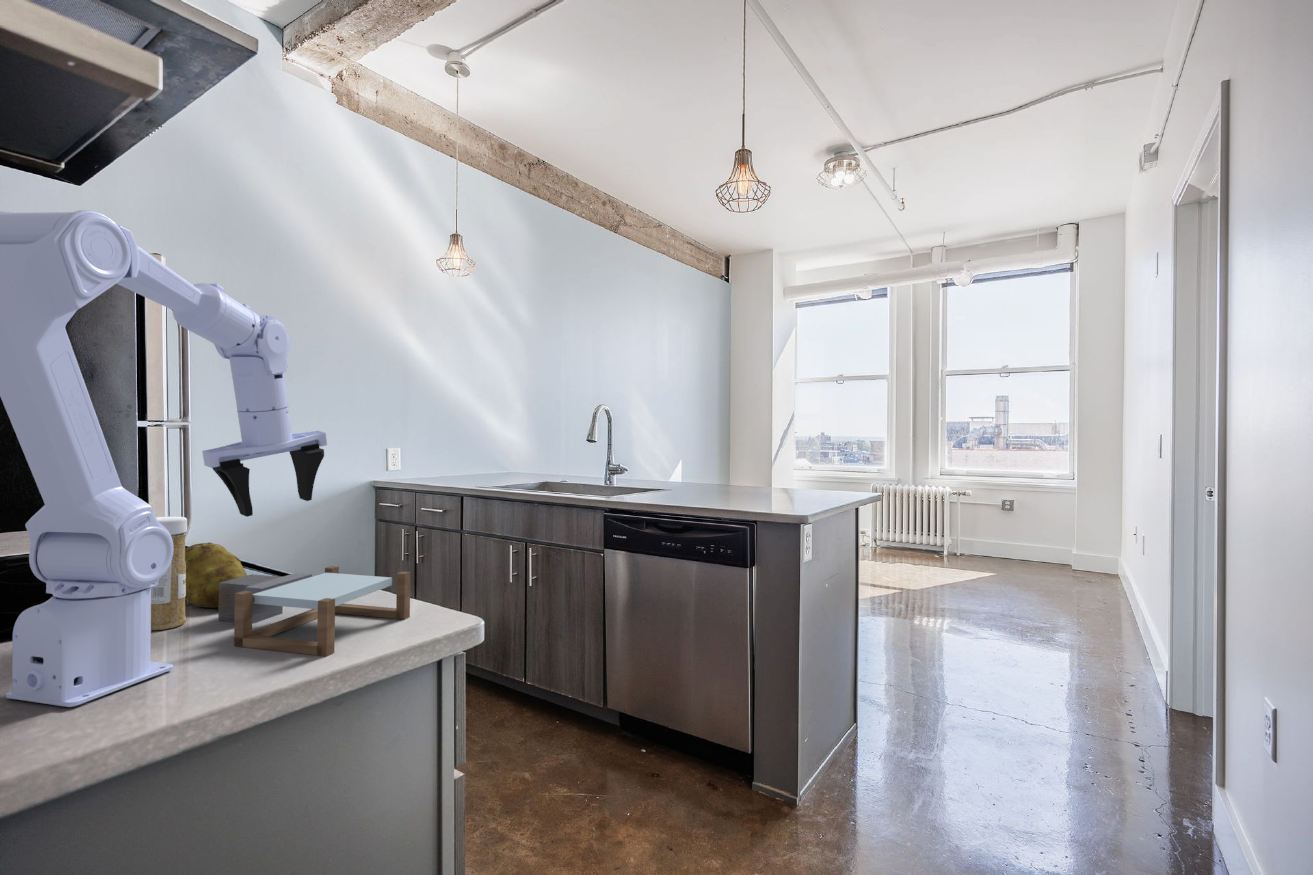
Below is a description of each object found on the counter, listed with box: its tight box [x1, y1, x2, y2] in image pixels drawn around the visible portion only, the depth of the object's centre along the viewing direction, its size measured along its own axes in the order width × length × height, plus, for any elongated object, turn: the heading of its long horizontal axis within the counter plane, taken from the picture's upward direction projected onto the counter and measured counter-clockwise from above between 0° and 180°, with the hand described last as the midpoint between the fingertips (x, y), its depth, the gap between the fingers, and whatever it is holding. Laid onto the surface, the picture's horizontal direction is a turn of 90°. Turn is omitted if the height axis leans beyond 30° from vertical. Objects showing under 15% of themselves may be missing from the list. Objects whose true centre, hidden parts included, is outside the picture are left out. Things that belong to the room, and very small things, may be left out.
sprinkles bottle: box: [151, 515, 188, 632], centre depth 78 cm, size 5×5×14 cm
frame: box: [233, 565, 411, 657], centre depth 78 cm, size 15×12×6 cm
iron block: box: [217, 574, 284, 625], centre depth 83 cm, size 5×5×5 cm
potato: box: [185, 542, 248, 609], centre depth 89 cm, size 8×13×8 cm, turn 40°
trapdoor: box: [245, 572, 393, 610], centre depth 78 cm, size 12×13×1 cm
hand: (277, 506), depth 86 cm, fingers open, 7 cm apart
